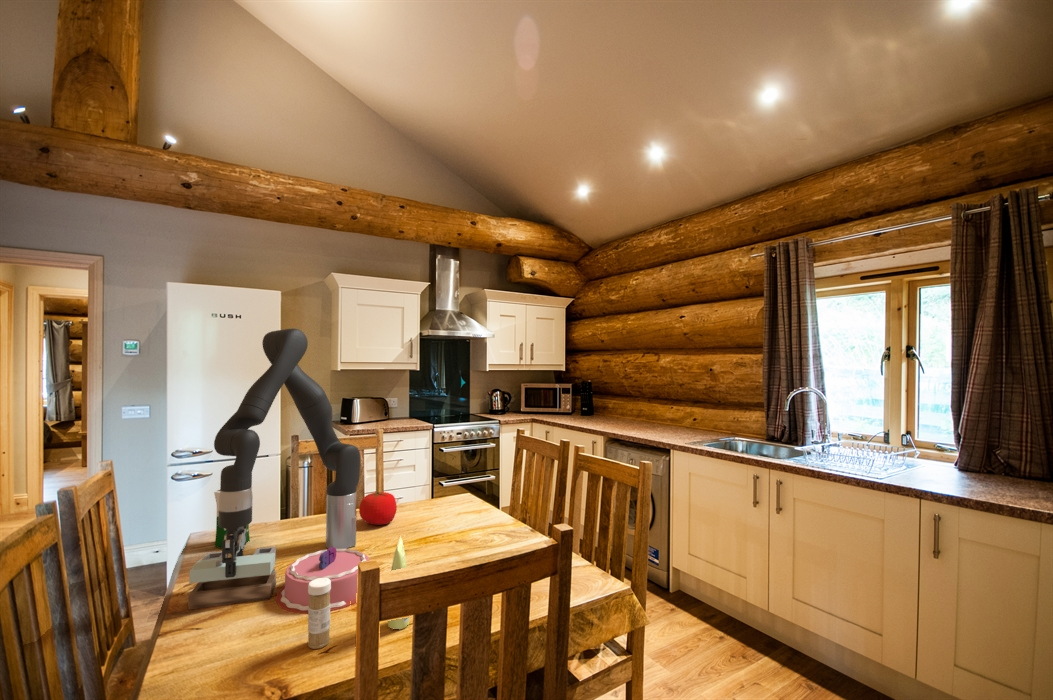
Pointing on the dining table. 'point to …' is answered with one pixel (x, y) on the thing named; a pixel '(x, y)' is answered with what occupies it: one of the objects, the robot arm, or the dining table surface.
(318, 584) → the sprinkles bottle
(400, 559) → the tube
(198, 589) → the carcass
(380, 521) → the tomato
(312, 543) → the dining table surface
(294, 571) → the cake
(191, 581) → the door
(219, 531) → the milk carton
